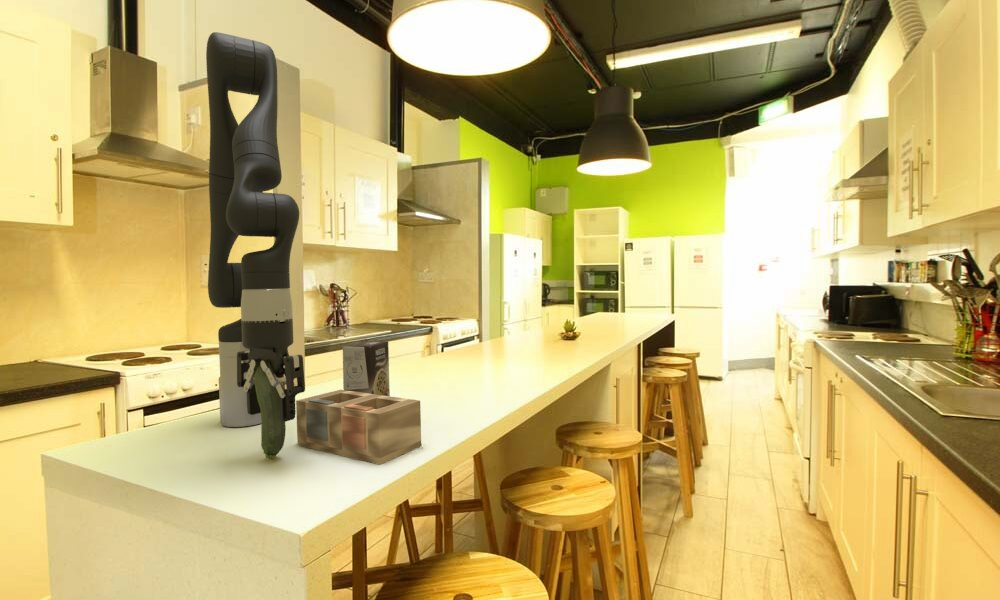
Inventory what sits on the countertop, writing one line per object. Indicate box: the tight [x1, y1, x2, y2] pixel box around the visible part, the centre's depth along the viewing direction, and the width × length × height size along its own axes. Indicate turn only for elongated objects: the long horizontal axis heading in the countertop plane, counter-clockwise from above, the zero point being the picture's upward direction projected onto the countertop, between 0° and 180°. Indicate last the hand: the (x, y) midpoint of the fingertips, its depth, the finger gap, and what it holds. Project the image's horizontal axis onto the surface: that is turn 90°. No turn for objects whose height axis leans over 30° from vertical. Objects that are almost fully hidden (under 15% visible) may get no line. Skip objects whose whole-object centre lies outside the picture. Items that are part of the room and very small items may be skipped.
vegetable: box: [255, 365, 286, 460], centre depth 82 cm, size 4×4×20 cm
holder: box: [295, 389, 422, 465], centre depth 88 cm, size 20×10×8 cm, turn 59°
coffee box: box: [342, 340, 391, 396], centre depth 105 cm, size 9×6×16 cm
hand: (271, 416), depth 82 cm, fingers open, 8 cm apart
